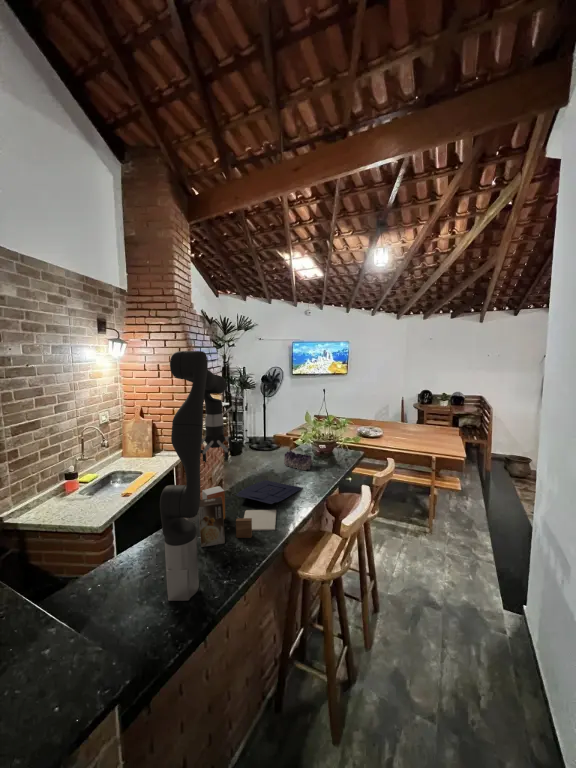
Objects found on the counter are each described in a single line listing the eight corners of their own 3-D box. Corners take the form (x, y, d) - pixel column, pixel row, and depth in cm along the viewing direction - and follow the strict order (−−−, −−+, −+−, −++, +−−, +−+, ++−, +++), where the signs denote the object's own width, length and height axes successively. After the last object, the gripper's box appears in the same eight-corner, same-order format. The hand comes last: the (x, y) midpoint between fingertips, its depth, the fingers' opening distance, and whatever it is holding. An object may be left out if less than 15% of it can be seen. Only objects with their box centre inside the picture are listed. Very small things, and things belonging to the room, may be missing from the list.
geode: (278, 467, 207) (279, 451, 207) (288, 464, 216) (288, 448, 217) (307, 471, 196) (307, 454, 197) (316, 468, 206) (316, 452, 207)
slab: (251, 537, 129) (251, 520, 128) (236, 537, 129) (235, 520, 129) (252, 534, 131) (251, 518, 130) (237, 534, 131) (236, 518, 130)
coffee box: (223, 534, 132) (222, 496, 130) (225, 543, 125) (223, 503, 124) (200, 538, 129) (198, 499, 127) (200, 547, 123) (198, 506, 121)
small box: (208, 524, 139) (206, 495, 138) (203, 518, 145) (201, 489, 143) (225, 518, 144) (224, 490, 142) (220, 513, 149) (219, 485, 148)
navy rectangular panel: (231, 500, 159) (232, 492, 159) (264, 484, 186) (264, 478, 186) (275, 511, 148) (275, 503, 148) (303, 492, 174) (303, 486, 174)
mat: (274, 530, 134) (274, 528, 134) (240, 530, 134) (240, 529, 134) (276, 511, 150) (276, 509, 150) (245, 511, 150) (245, 510, 150)
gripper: (196, 426, 133) (198, 465, 135) (232, 424, 137) (233, 462, 138) (197, 423, 141) (198, 460, 142) (230, 421, 144) (231, 457, 146)
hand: (215, 461), depth 140 cm, fingers open, 8 cm apart
